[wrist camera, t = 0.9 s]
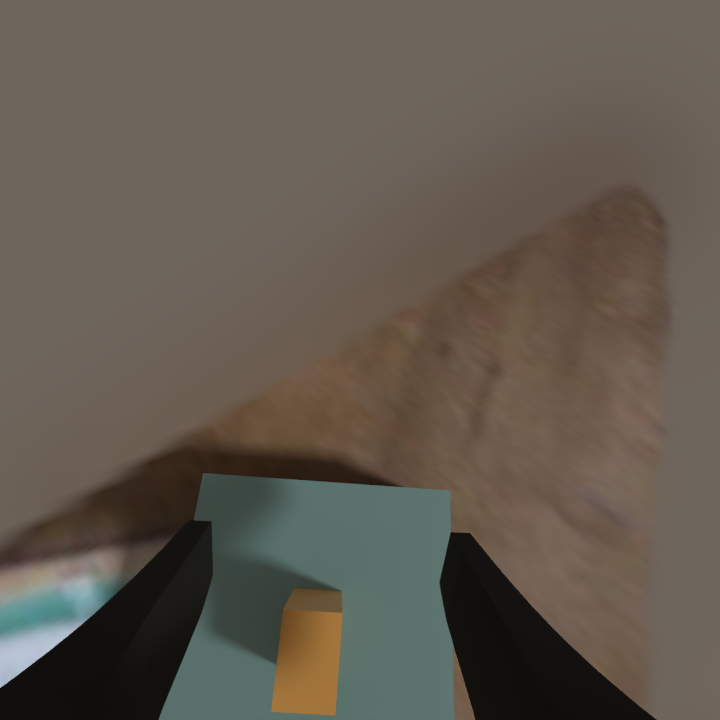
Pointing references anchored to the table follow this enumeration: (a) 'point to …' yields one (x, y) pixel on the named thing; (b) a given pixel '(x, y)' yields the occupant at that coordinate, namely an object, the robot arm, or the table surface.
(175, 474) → the table surface
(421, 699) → the lid
